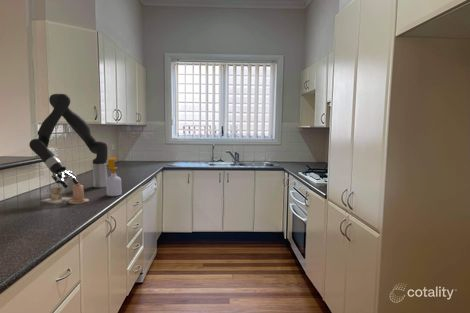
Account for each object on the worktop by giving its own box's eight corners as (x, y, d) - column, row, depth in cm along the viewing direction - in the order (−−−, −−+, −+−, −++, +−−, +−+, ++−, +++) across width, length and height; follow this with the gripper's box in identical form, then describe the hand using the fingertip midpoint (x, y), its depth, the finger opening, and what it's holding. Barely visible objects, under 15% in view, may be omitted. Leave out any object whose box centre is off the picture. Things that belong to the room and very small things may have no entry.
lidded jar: (78, 198, 185) (77, 182, 184) (87, 199, 183) (86, 183, 182) (70, 201, 178) (69, 184, 177) (79, 202, 177) (78, 185, 176)
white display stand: (56, 197, 189) (55, 185, 189) (72, 199, 187) (72, 186, 186) (39, 202, 178) (39, 189, 177) (56, 203, 175) (56, 190, 174)
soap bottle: (124, 193, 203) (122, 156, 200) (117, 196, 194) (116, 158, 191) (111, 193, 204) (109, 156, 201) (104, 196, 195) (102, 158, 192)
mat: (77, 198, 187) (77, 197, 187) (93, 199, 185) (93, 199, 185) (63, 203, 177) (63, 202, 177) (79, 204, 174) (79, 203, 174)
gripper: (48, 163, 175) (66, 183, 173) (67, 160, 188) (84, 179, 187) (41, 171, 176) (59, 192, 175) (61, 168, 190) (77, 187, 189)
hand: (72, 185), depth 181 cm, fingers open, 8 cm apart
